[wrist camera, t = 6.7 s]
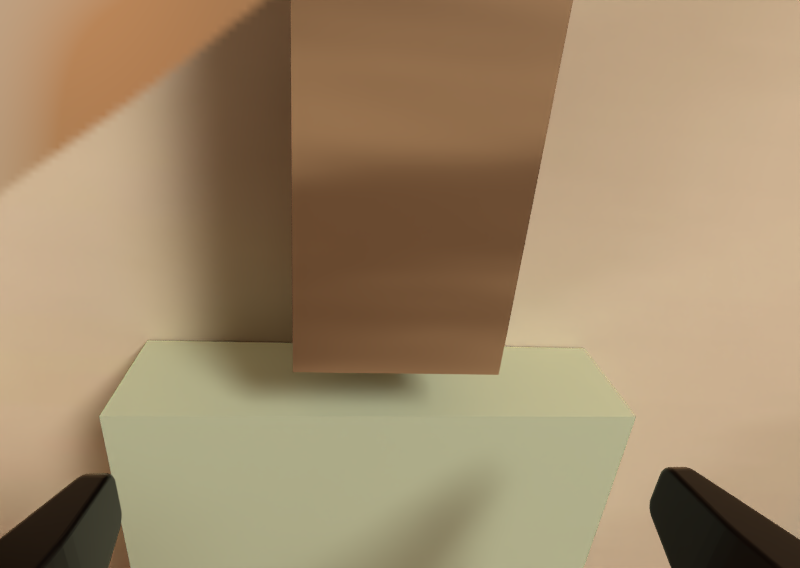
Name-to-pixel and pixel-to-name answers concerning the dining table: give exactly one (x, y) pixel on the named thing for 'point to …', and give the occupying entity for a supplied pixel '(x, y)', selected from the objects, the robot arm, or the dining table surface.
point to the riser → (360, 460)
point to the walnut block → (414, 177)
